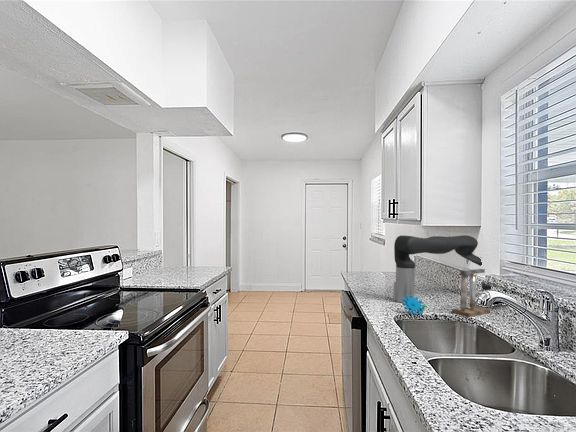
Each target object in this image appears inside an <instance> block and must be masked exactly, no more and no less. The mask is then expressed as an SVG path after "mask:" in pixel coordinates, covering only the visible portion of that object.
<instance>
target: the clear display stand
mask: <svg viewBox="0 0 576 432" xmlns="http://www.w3.org/2000/svg"><path fill="white" fill-rule="evenodd" d="M485 270H486V269H485V268H483V269H482V268H476V269H475V268H472V269H464V270H463V269H462V270H460V271H459V273H458V275H459V276H460V277H461V278H460V283H461V284H460V308H459V307H458V308H453V309H451V314H454V313H456V314H455V315H458V314H459V316H463V317H467V318H470V317H471V318H472V317H476V316H481V315H486V314H490V313H491V309H489V308H485V307H481V306H477V305H475V308H473V309H472V308H471V307H469V306H467V303H468V302H467V300H468V299H467V298H468V297H467V295H468V277H470V274H482V273H483V274H485V272H486V271H485Z"/></svg>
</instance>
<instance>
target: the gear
mask: <svg viewBox="0 0 576 432" xmlns="http://www.w3.org/2000/svg"><path fill="white" fill-rule="evenodd" d="M405 297H406V298H407V300H406V298H403V301H405V302H406V303H405V302H403V303H401V305H402V306H404V307H403V310H404V311H406V310H407V312H408V314H412V313H413V316H417V315H418V316H419V315H422V314H423V313H424V312H425V308H427V304H423V301H422V299H420V300H419V297H418V296H414V299H412V298H413V295H410V299H409V296H408V295H406V296H405Z"/></svg>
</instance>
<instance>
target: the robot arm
mask: <svg viewBox="0 0 576 432" xmlns="http://www.w3.org/2000/svg"><path fill="white" fill-rule="evenodd" d="M395 238H396V239H395V241H394V245H393V248H394V256H393V257H394V263H395V281H394V282H393V299H392V300H393V301H395V302H397V303H401V304H402V303H403V302H405V301H403V298H406V297H405V296H406V295H408V296H409V299H410V295H413V298H412V299H415V285H416V284H415V282H416V281H415V280H416V263H415V261H413V260H412V259H411V257H410V255H417V254H423V253H424V254H432V255H433V254H434V255H442V254H448V253H450V252H453V251H455V253H456V254H458V255H459V256H461V257H462V258H464V259H466V260H468V261H470V262H472V263H473V264H475V265H477V266H479V267H481V265H482V262H481V259H480V258H481V257H480V256H477V255H476V254H474V251H475V250H476V249H477V247H478V246H479V245H478V244H479V242H478V240H477V239H476V238H475V237H474V236H471V235H467V234H466V235H465V234H464V235H463V234H462V235H455V236H441V235H440V236H437V235H436V236H434V235H433V236H429V237H425V238H424V237H419V236H418V237H417V236H412V235H403V234H402V235H399V236H397V237H395ZM479 257H480V258H479ZM480 288H481V289H482V291H491V290H490V289H491V286H490V285H489V284H488V283H486V282H484V281H481V286H480ZM406 300H407V298H406ZM405 303H406V302H405ZM406 304H407V303H406Z"/></svg>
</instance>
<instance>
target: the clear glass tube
mask: <svg viewBox="0 0 576 432" xmlns="http://www.w3.org/2000/svg"><path fill="white" fill-rule="evenodd" d="M477 276H478V273H475V274H470V276H469V296H468V297H469V299H468V300H469V301H468V303H469V304H468V307H471V308H472V309H473V308H475V306H476V287H477V285H476V283H477V282H476V281H477Z"/></svg>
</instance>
